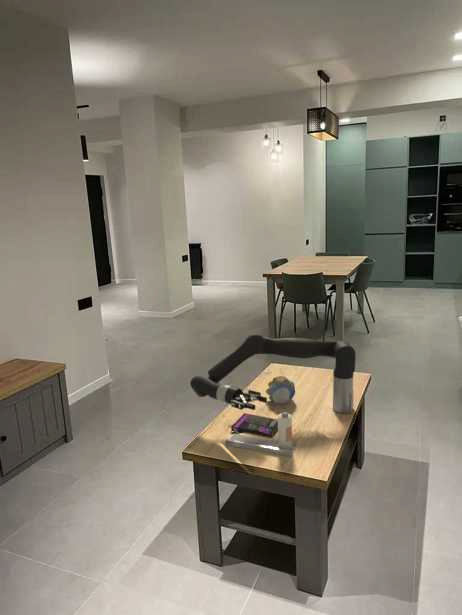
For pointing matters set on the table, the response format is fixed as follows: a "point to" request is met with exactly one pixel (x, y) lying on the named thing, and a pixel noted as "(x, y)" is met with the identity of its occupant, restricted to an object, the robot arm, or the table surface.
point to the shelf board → (258, 442)
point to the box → (256, 425)
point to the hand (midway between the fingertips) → (260, 403)
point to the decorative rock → (281, 390)
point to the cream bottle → (285, 431)
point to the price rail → (258, 447)
